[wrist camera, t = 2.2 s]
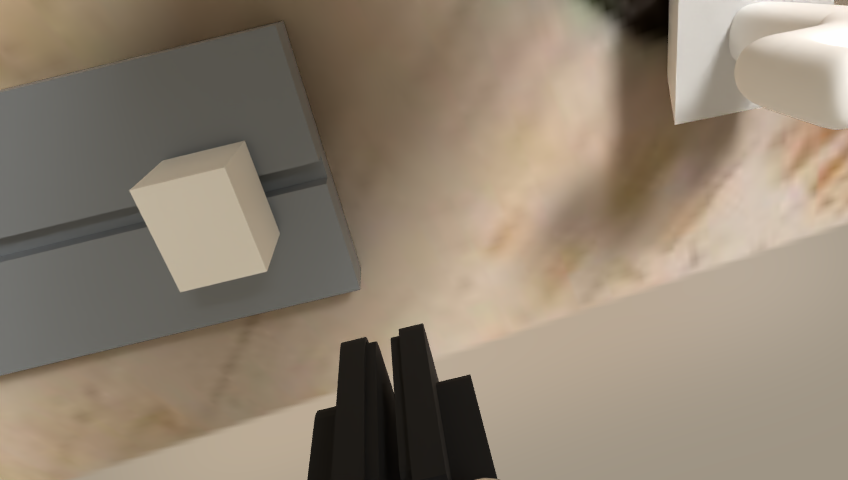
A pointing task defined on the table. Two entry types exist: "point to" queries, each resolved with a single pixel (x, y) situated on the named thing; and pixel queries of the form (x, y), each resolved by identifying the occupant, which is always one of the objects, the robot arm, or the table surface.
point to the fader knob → (208, 216)
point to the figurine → (759, 59)
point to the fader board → (118, 213)
